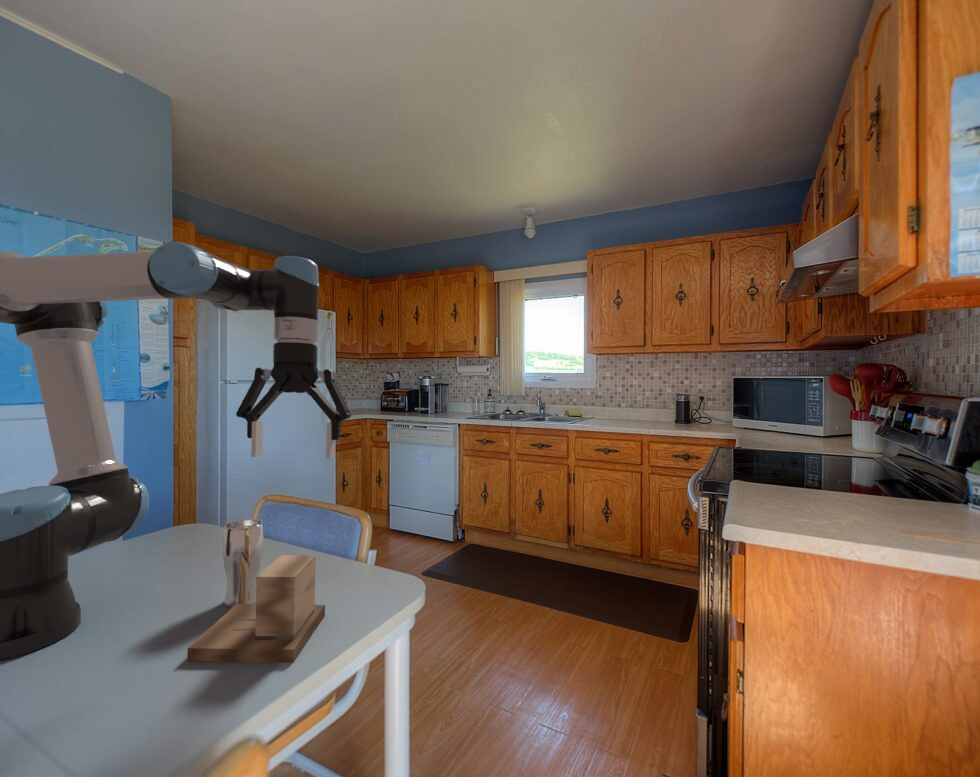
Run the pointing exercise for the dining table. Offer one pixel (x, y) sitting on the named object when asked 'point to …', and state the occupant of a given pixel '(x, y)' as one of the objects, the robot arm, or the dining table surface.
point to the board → (249, 639)
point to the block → (285, 597)
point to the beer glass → (242, 559)
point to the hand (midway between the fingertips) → (293, 456)
